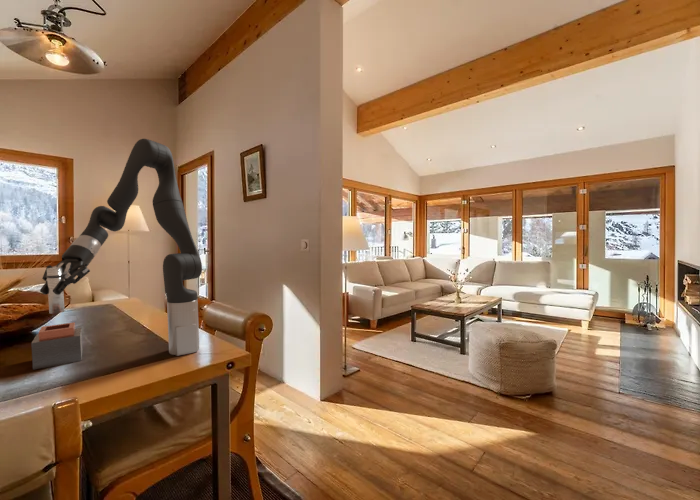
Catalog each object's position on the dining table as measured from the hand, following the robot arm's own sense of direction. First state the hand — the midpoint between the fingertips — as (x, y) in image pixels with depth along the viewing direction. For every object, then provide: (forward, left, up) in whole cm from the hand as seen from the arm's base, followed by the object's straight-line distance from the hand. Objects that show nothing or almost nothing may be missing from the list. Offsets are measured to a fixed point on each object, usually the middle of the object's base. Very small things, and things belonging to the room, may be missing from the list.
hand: (49, 292), depth 100 cm
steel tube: (+2, -1, -7) cm, 7 cm away
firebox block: (+1, -1, -22) cm, 22 cm away
